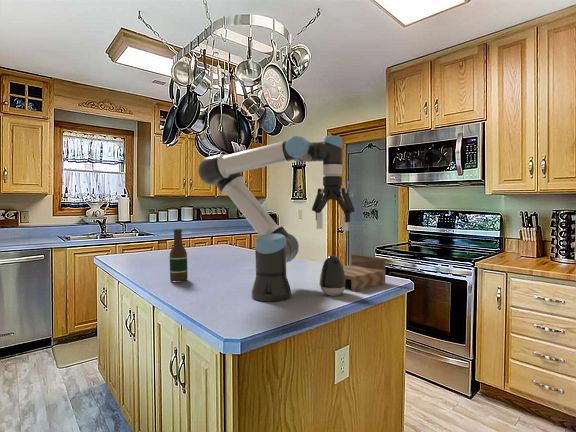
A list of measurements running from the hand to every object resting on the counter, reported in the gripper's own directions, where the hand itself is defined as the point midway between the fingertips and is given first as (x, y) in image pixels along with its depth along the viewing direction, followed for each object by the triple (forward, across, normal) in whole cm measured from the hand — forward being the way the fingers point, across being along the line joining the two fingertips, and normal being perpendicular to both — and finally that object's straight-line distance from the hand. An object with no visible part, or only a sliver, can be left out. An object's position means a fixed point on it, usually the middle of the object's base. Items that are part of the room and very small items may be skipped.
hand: (332, 229), depth 141 cm
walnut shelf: (+25, +2, -16) cm, 30 cm away
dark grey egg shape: (+25, -3, +3) cm, 25 cm away
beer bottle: (+26, +62, +36) cm, 76 cm away
